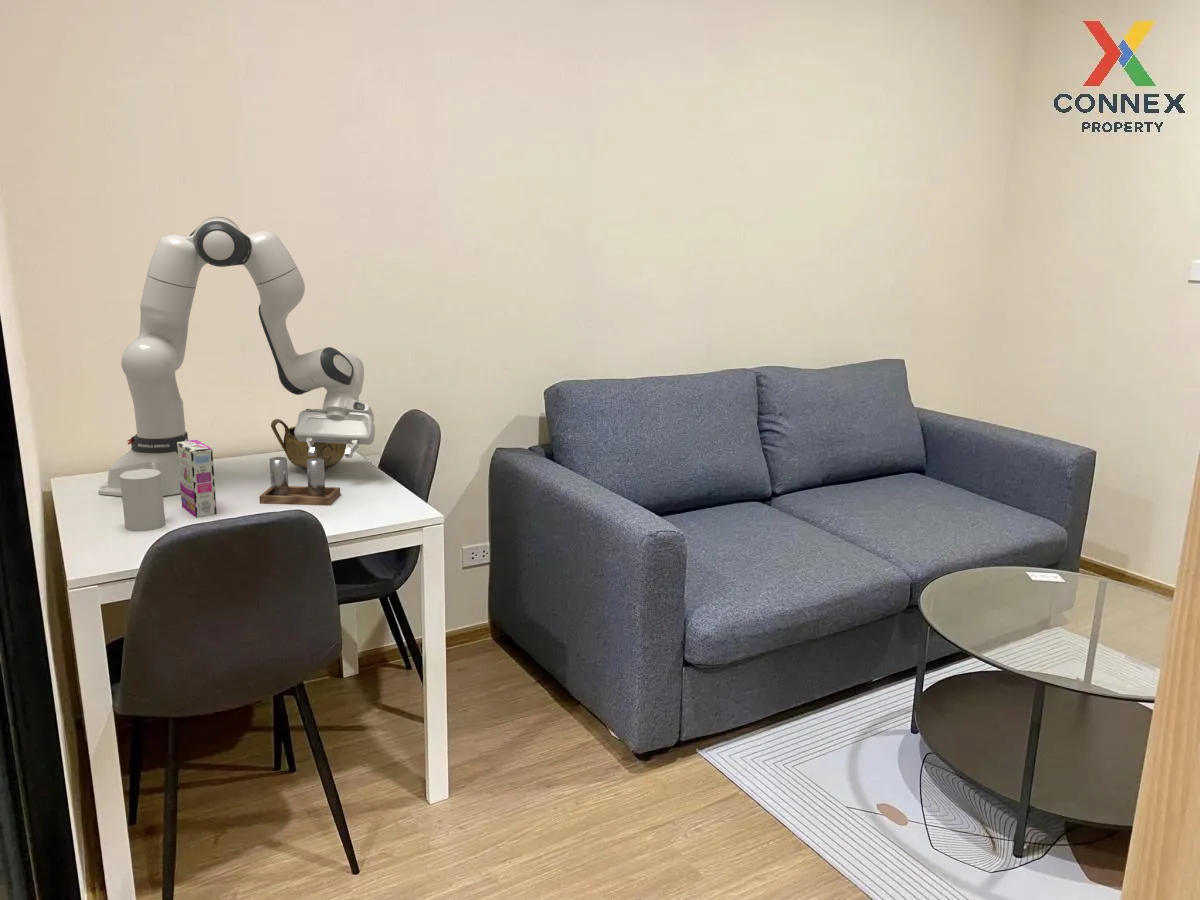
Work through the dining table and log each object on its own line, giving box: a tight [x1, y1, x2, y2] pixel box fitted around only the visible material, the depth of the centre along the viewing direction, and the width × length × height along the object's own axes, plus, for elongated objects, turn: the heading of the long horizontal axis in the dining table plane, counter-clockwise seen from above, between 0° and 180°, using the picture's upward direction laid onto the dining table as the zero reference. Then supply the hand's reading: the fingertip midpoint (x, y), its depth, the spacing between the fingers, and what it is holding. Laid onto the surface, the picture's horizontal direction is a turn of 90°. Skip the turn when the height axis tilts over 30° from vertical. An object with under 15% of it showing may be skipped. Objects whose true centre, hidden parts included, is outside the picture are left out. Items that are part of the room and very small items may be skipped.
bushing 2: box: [306, 458, 326, 497], centre depth 228 cm, size 4×4×10 cm
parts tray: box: [258, 485, 341, 507], centre depth 229 cm, size 17×9×2 cm, turn 90°
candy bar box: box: [177, 439, 218, 519], centre depth 217 cm, size 11×5×16 cm, turn 40°
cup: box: [120, 469, 166, 532], centre depth 208 cm, size 8×8×12 cm
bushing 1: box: [269, 456, 289, 496], centre depth 228 cm, size 4×4×10 cm
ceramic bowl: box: [270, 418, 347, 471], centre depth 256 cm, size 22×17×15 cm
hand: (329, 455), depth 239 cm, fingers open, 8 cm apart
